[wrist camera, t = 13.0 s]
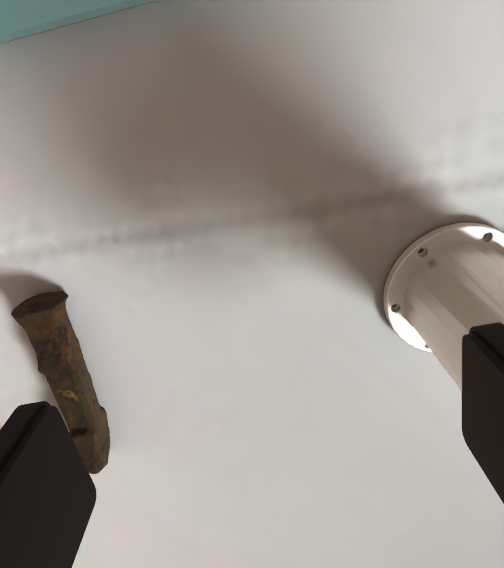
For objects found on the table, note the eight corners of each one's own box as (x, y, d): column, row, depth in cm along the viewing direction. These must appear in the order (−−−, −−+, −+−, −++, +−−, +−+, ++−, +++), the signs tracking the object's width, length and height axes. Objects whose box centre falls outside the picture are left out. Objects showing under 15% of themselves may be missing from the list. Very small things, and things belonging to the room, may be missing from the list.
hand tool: (24, 291, 37) (-1, 318, 33) (70, 286, 37) (50, 312, 33) (83, 450, 46) (68, 488, 42) (120, 446, 46) (109, 483, 42)
